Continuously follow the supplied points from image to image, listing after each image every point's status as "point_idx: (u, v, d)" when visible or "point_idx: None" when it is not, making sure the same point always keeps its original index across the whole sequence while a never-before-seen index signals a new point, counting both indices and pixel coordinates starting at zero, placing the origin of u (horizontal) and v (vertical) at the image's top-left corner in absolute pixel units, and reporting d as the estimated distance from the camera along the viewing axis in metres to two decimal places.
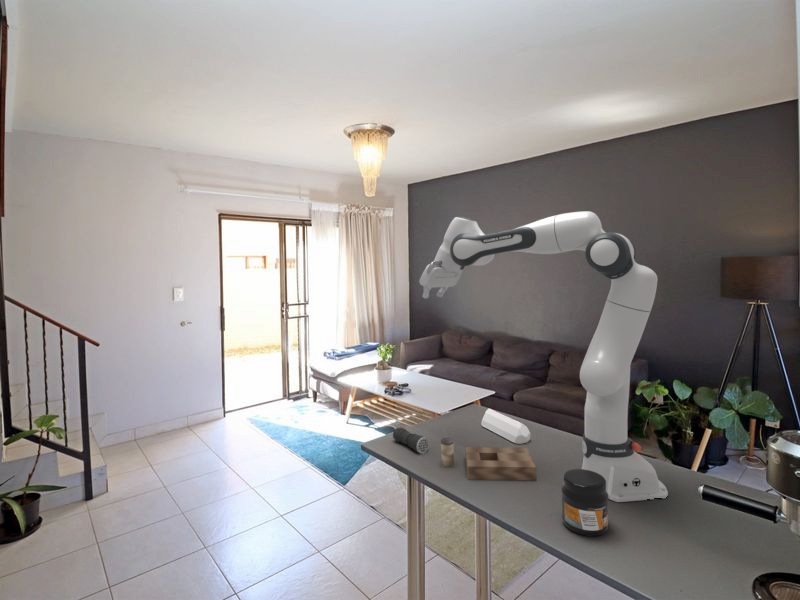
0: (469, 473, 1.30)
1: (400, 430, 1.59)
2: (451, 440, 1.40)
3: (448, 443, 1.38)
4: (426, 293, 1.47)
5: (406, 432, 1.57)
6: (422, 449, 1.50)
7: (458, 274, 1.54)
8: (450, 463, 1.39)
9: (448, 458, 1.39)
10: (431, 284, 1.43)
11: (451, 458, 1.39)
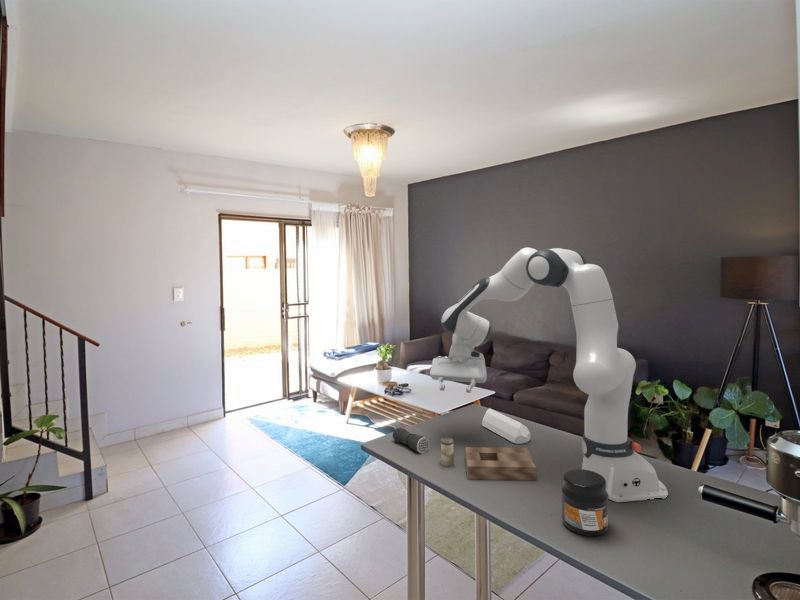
0: (469, 473, 1.30)
1: (400, 430, 1.59)
2: (451, 440, 1.40)
3: (448, 443, 1.38)
4: (440, 384, 1.54)
5: (406, 432, 1.57)
6: (422, 449, 1.50)
7: (479, 364, 1.53)
8: (450, 463, 1.39)
9: (448, 458, 1.39)
10: (436, 371, 1.56)
11: (451, 458, 1.39)
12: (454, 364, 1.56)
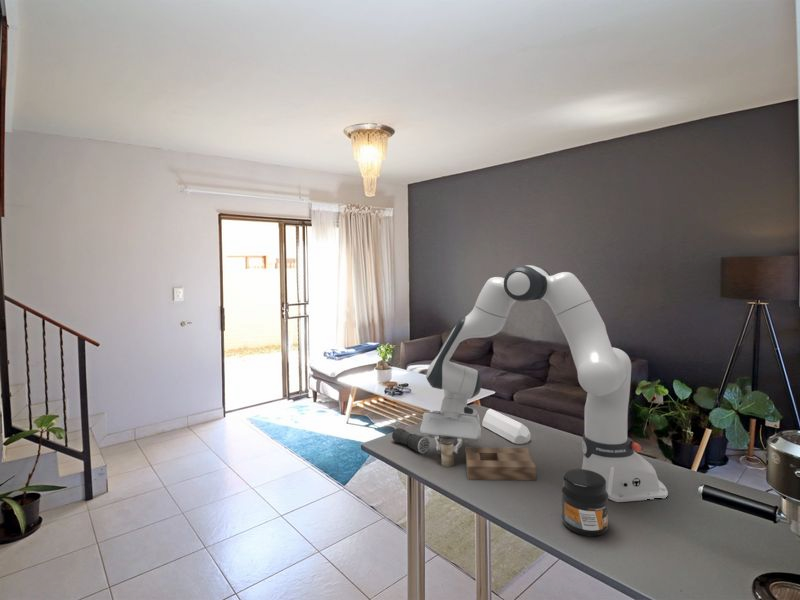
0: (469, 473, 1.30)
1: (399, 431, 1.59)
2: (451, 440, 1.40)
3: (448, 443, 1.38)
4: None
5: (406, 432, 1.57)
6: (423, 449, 1.50)
7: (473, 422, 1.42)
8: (450, 463, 1.39)
9: (448, 458, 1.39)
10: (426, 429, 1.45)
11: (451, 458, 1.39)
12: (446, 421, 1.45)
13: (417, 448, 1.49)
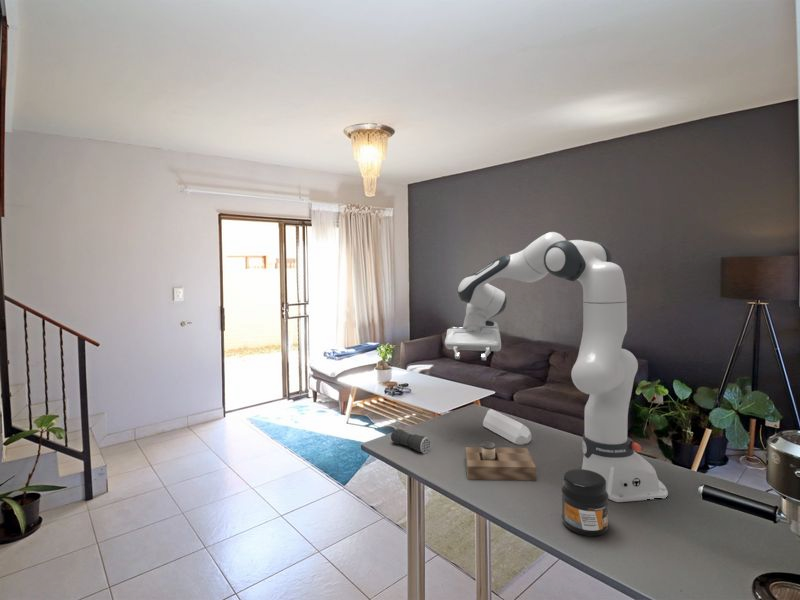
0: (469, 473, 1.30)
1: (399, 432, 1.58)
2: (493, 444, 1.36)
3: (490, 447, 1.34)
4: (455, 352, 1.56)
5: (405, 433, 1.56)
6: (425, 449, 1.50)
7: (494, 333, 1.55)
8: None
9: None
10: (451, 341, 1.58)
11: None
12: (469, 333, 1.58)
13: (419, 448, 1.49)
